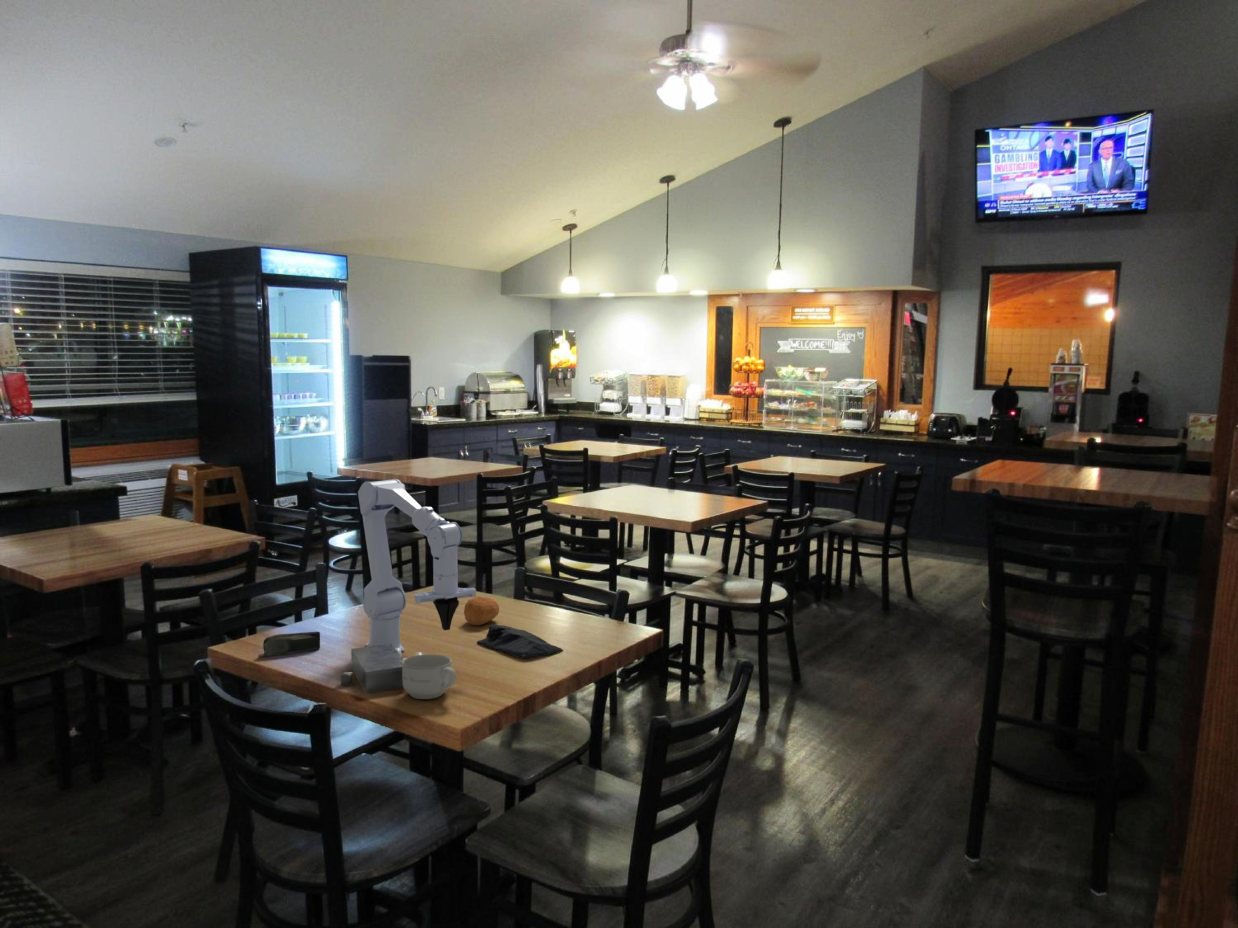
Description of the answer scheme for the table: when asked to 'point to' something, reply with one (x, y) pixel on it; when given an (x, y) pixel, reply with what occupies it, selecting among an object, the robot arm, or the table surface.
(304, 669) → the table surface
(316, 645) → the dark green rounded block
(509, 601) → the table surface
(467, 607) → the potato
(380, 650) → the rack
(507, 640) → the black cloth
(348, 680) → the black dial
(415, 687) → the teacup
